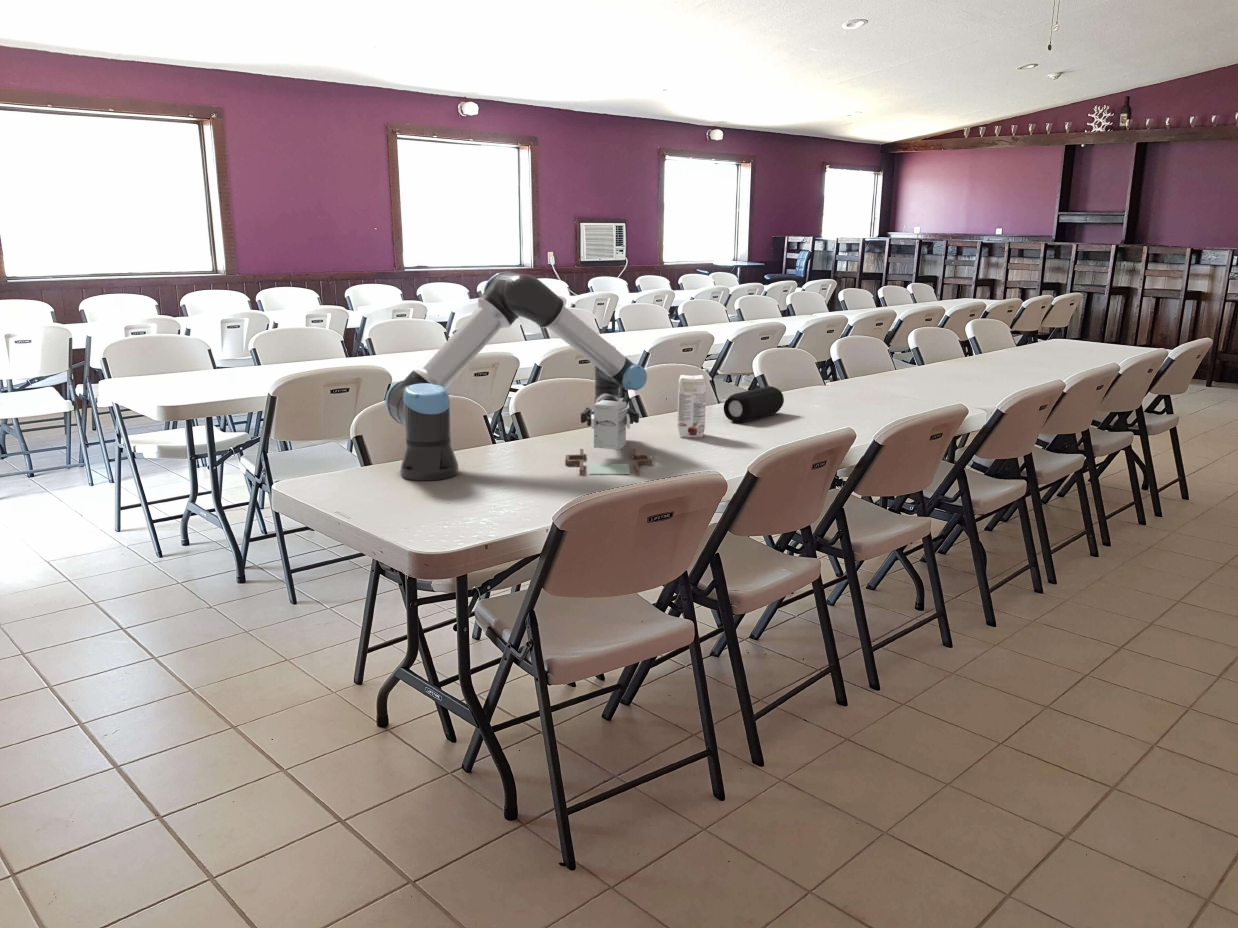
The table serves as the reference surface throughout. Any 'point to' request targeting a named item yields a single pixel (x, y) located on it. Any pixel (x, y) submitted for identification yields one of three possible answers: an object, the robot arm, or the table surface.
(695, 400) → the juice carton
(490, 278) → the robot arm
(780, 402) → the portable speaker
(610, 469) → the pad
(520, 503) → the table surface
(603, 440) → the supplement box
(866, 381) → the table surface
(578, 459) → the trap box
